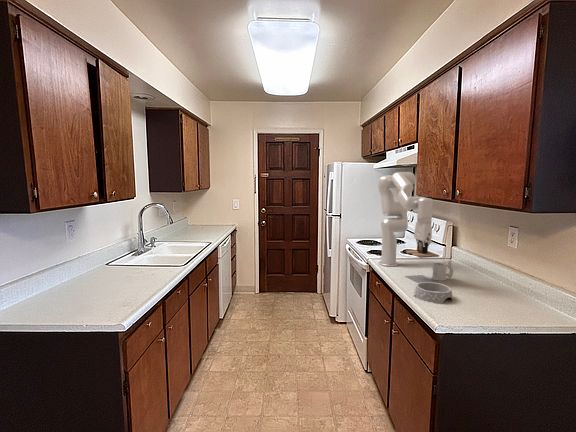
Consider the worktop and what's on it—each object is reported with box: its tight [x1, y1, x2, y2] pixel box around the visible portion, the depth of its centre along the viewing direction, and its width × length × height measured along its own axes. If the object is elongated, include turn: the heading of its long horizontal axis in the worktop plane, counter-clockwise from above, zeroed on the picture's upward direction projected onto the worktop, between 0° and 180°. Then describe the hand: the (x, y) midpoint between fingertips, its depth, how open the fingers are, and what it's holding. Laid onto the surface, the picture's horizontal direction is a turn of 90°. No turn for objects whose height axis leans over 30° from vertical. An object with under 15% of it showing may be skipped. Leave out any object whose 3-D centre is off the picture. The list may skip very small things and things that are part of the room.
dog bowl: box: [413, 282, 454, 304], centre depth 170 cm, size 17×18×5 cm
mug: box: [431, 259, 454, 282], centre depth 196 cm, size 8×12×12 cm, turn 94°
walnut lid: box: [405, 242, 440, 259], centre depth 193 cm, size 14×12×7 cm
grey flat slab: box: [404, 274, 440, 284], centre depth 195 cm, size 16×12×1 cm
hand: (422, 251), depth 194 cm, fingers closed on walnut lid, 4 cm apart
